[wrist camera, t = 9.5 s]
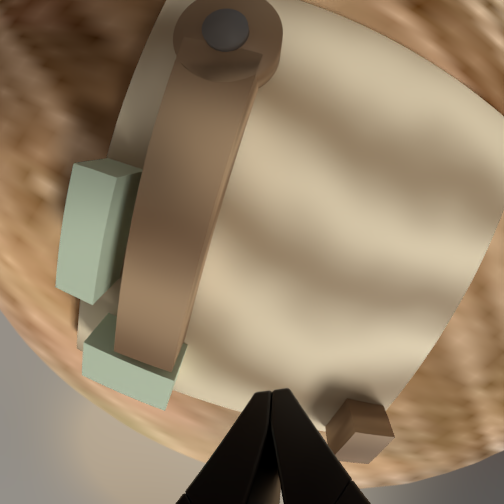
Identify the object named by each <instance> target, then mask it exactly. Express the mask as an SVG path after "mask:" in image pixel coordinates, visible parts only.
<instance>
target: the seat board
mask: <svg viewBox="0 0 504 504" xmlns="http://www.w3.org/2000/svg"><path fill="white" fill-rule="evenodd" d="M194 1H196V0H166V2H165V4H164V6H163V8H162V10H161V12H160V14H159V16H158V18H157V20H156V22H155V24H154V27H153V29H152V31H151V33H150V35H149V38H148V40H147V42H146V45H145V47H144V49H143V52H142V54H141V57H140V59H139V62H138V64H137V67H136V69H135V72H134V74H133V77H132V80H131V82H130V85H129V88H128V90H127V93H126V96H125V99H124V102H123V105H122V108H121V111H120V114H119V117H118V120H117V123H116V126H115V130H114V133H113V136H112V140H111V143H110V147H109V150H108V154H107V158H109V159H112V160H116V161H119V162H122V163H125V164H128V165H131V166H134V167H137V168H140V169H143V166H144V162H145V158H146V154H147V150H148V147H149V143H150V139H151V135H152V132H153V128H154V125H155V121H156V118H157V114H158V111H159V108H160V104H161V101H162V98H163V95H164V92H165V89H166V86H167V83H168V80H169V77H170V74H171V71H172V68H173V65H174V62H175V59H176V57H177V56H176V54H175V50H174V46H173V33H174V28H175V25H176V23H177V21H178V19H179V17H180V16H181V14H182V13H183V11H184V10H185V9H186V8H187V7H188V6H189V5H190V4H191V3H193V2H194ZM266 1H267V2H269V3H270V4H271V5H272V6H273V7H274V9H275V10H276V11H277V13H278V15H279V17H280V19H281V22H282V27H283V39H282V47H281V54H280V61H279V65H278V68H277V70H276V72H275V74H274V75H273V76H272V78H271V79H270V80H269V81H268V82H267V83H266V84H265V85H263V86H262V87H260V88H259V89H258V92H257V94H256V97H255V100H254V103H253V106H252V109H251V112H250V116H249V119H248V122H247V125H246V128H245V131H244V134H243V137H242V140H241V143H240V147H239V150H238V153H237V156H236V159H235V163H234V166H233V169H232V172H231V175H230V179H229V182H228V185H227V189H226V192H225V195H224V199H223V202H222V205H221V209H220V212H219V216H218V219H217V222H216V226H215V229H214V233H213V236H212V240H211V243H210V247H209V250H208V254H207V258H206V261H205V265H204V268H203V272H202V276H201V279H200V283H199V287H198V291H197V294H196V298H195V302H194V306H193V310H192V313H191V317H190V321H189V325H188V329H187V333H186V337H185V340H184V342H183V343H184V344H187V345H188V346H187V349H186V352H185V355H184V358H183V361H182V364H181V367H180V370H179V374H178V376H177V379H176V382H175V385H174V387H173V390H174V391H177V392H180V393H183V394H186V395H189V396H191V397H194V398H197V399H200V400H203V401H206V402H210V403H213V404H216V405H219V406H222V407H226V408H229V409H232V410H236V411H239V412H242V411H243V410H244V408H245V407H246V405H247V404H248V402H249V401H250V399H251V397H252V396H253V394H254V393H255V392H259V391H267V390H270V391H272V392H273V390H275V389H282V388H289V389H290V390H291V391H292V393H293V394H294V396H295V397H296V399H297V400H298V402H299V403H300V405H301V406H302V408H303V409H304V411H305V412H306V414H307V415H308V417H309V418H310V420H311V421H312V423H313V424H314V426H315V427H316V428H317V430H320V431H325V432H326V436H327V442H328V446H329V447H330V449H331V450H332V452H333V453H334V454H335V456H336V457H337V459H338V460H339V461H344V462H353V463H364V464H369V463H370V462H371V461H372V460H373V459H374V458H375V457H376V456H377V455H378V454H379V453H380V452H381V451H382V450H383V449H384V448H385V447H386V446H387V445H388V444H389V443H390V442H391V441H392V440H393V439H394V438H395V436H394V433H393V430H392V428H391V425H390V422H389V419H388V416H387V414H386V410H387V408H388V407H389V406H390V405H391V404H392V402H393V401H394V400H395V399H396V397H397V396H398V395H399V393H400V392H401V391H402V390H403V388H404V387H405V386H406V384H407V383H408V382H409V380H410V379H411V378H412V376H413V375H414V373H415V372H416V371H417V369H418V368H419V367H420V365H421V364H422V362H423V361H424V359H425V358H426V356H427V355H428V354H429V352H430V351H431V349H432V348H433V346H434V345H435V343H436V341H437V340H438V338H439V337H440V335H441V334H442V332H443V330H444V329H445V327H446V326H447V324H448V322H449V321H450V319H451V317H452V316H453V314H454V312H455V310H456V309H457V307H458V305H459V304H460V302H461V300H462V298H463V296H464V295H465V293H466V291H467V289H468V287H469V285H470V283H471V281H472V279H473V278H474V276H475V274H476V272H477V270H478V268H479V266H480V264H481V261H482V259H483V257H484V255H485V253H486V251H487V249H488V246H489V244H490V242H491V240H492V237H493V235H494V233H495V230H496V228H497V226H498V223H499V221H500V218H501V216H502V213H503V211H504V116H503V115H501V114H500V113H499V112H498V111H497V110H496V109H494V108H493V107H492V106H491V105H489V104H488V103H487V102H486V101H484V100H483V99H482V98H481V97H479V96H478V95H477V94H475V93H474V92H473V91H471V90H470V89H469V88H467V87H466V86H465V85H463V84H462V83H461V82H459V81H458V80H456V79H455V78H453V77H452V76H451V75H449V74H448V73H446V72H445V71H443V70H442V69H440V68H439V67H437V66H435V65H434V64H432V63H431V62H429V61H427V60H426V59H424V58H423V57H421V56H419V55H418V54H416V53H414V52H412V51H411V50H409V49H407V48H405V47H404V46H402V45H400V44H398V43H396V42H395V41H393V40H391V39H389V38H387V37H385V36H383V35H381V34H379V33H377V32H375V31H373V30H371V29H369V28H367V27H365V26H363V25H360V24H358V23H356V22H354V21H352V20H349V19H347V18H345V17H342V16H340V15H338V14H335V13H333V12H330V11H328V10H325V9H322V8H320V7H317V6H314V5H312V4H309V3H306V2H303V1H300V0H266ZM128 237H129V236H128ZM127 243H128V241H127ZM126 248H127V245H126ZM125 254H126V250H125ZM125 254H124V259H123V264H122V268H121V273H120V278H119V279H118V280H117V281H116V282H115V283H114V284H113V285H112V286H111V287H110V288H109V289H108V290H107V291H106V292H105V293H104V294H103V295H102V296H101V297H100V298H99V299H98V300H97V301H96V302H95V303H94V304H93V305H91V304H89V303H87V302H85V301H83V300H81V299H80V308H79V320H78V335H77V349H79V350H81V351H83V345H84V341H85V340H86V339H87V338H88V336H89V335H90V334H91V333H92V332H93V330H94V329H95V328H96V327H97V326H98V325H99V323H100V322H101V321H102V320H103V319H104V318H105V316H106V315H107V314H108V313H110V314H113V315H115V316H117V312H118V304H119V296H120V288H121V281H122V274H123V267H124V261H125Z"/></svg>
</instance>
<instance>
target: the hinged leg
mask: <svg viewBox="0 0 504 504" xmlns="http://www.w3.org/2000/svg"><path fill="white" fill-rule="evenodd" d="M282 39H283V27H282V22H281V19H280V17H279V15H278V13H277V11H276V10H275V9H274V7H273V6H272V5H271V4H270V3H269V2H267V1H266V0H196V1H194V2H193V3H191V4H190V5H189V6H188V7H187V8H186V9H185V10H184V11H183V13H182V14H181V16H180V17H179V19H178V21H177V23H176V25H175V28H174V33H173V46H174V50H175V54H176V56H177V57H176V59H175V62H174V65H173V68H172V71H171V74H170V77H169V80H168V83H167V86H166V89H165V92H164V95H163V98H162V101H161V104H160V108H159V111H158V114H157V118H156V121H155V125H154V128H153V132H152V135H151V139H150V143H149V147H148V150H147V154H146V158H145V162H144V166H143V170H142V174H141V179H140V183H139V187H138V192H137V197H136V201H135V206H134V211H133V216H132V221H131V226H130V231H129V237H128V243H127V248H126V254H125V261H124V267H123V274H122V281H121V288H120V296H119V304H118V312H117V322H116V332H115V343H114V351H115V352H117V353H120V354H122V355H125V356H127V357H130V358H133V359H135V360H138V361H141V362H143V363H146V364H149V365H152V366H154V367H157V368H160V369H163V370H166V371H169V372H172V370H173V367H174V365H175V362H176V360H177V357H178V355H179V352H180V350H181V347H182V345H183V342H184V340H185V337H186V333H187V329H188V325H189V321H190V317H191V313H192V310H193V306H194V302H195V298H196V294H197V291H198V287H199V283H200V279H201V276H202V272H203V268H204V265H205V261H206V258H207V254H208V250H209V247H210V243H211V240H212V236H213V233H214V229H215V226H216V222H217V219H218V216H219V212H220V209H221V205H222V202H223V199H224V195H225V192H226V189H227V185H228V182H229V179H230V175H231V172H232V169H233V166H234V163H235V159H236V156H237V153H238V150H239V147H240V143H241V140H242V137H243V134H244V131H245V128H246V125H247V122H248V119H249V116H250V112H251V109H252V106H253V103H254V100H255V97H256V94H257V92H258V89H259V88H260V87H262V86H263V85H265V84H266V83H267V82H268V81H269V80H270V79H271V78H272V76H273V75H274V74H275V72H276V70H277V68H278V65H279V61H280V54H281V47H282Z"/></svg>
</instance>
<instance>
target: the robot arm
mask: <svg viewBox="0 0 504 504" xmlns="http://www.w3.org/2000/svg"><path fill="white" fill-rule="evenodd" d="M280 490H281V491H282V497H283V502H284V504H370V502H369V501H368V499H367V498H366V497H365V496H364V494H363V493H362V492H361V491H360V489H359V488H358V486H357V485H356V484H355V482H354V481H352V479H351V477H350V476H349V474H348V473H347V471H346V470H345V469H344V467H343V466H342V464H341V463H340V462H339V460H338V459H337V457H336V456H335V454H334V453H333V452H332V450H331V449H330V447H329V446H328V444H327V443H326V442H325V440H324V439H323V437H322V436H321V434H320V433H319V431H318V430H317V428H316V427H315V426H314V424H313V423H312V421H311V420H310V418H309V417H308V415H307V414H306V412H305V411H304V409H303V408H302V406H301V405H300V403H299V402H298V400H297V399H296V397H295V396H294V394H293V393H292V391H291V390H290V389H289V388H282V389H275V390H273V392H272V391H270V390H267V391H259V392H255V393H254V394H253V396H252V397H251V399H250V401H249V402H248V404H247V405H246V407H245V408H244V410H243V411H242V413H241V414H240V416H239V417H238V419H237V420H236V421H235V423H234V424H233V426H232V427H231V429H230V430H229V432H228V433H227V435H226V436H225V438H224V439H223V440H222V442H221V443H220V445H219V446H218V447H217V449H216V450H215V452H214V453H213V455H212V456H211V457H210V459H209V460H208V461H207V463H206V464H205V466H204V467H203V468H202V470H201V471H200V472H199V474H198V475H197V476H196V478H195V479H194V480H193V482H192V483H191V484H190V486H189V487H188V488H187V490H186V491H185V492H186V494H183V495H182V496H181V497H180V499H179V500H178V501H177V502H176V504H279V503H280Z"/></svg>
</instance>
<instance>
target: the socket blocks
mask: <svg viewBox="0 0 504 504" xmlns="http://www.w3.org/2000/svg"><path fill="white" fill-rule="evenodd" d="M142 170H143V169H140V168H137V167H134V166H131V165H128V164H125V163H122V162H119V161H116V160H112V159H109V158H105V159H98V160H91V161H84V162H78V163H74V164H73V169H72V173H71V178H70V183H69V188H68V193H67V198H66V204H65V210H64V216H63V222H62V229H61V237H60V245H59V253H58V263H57V274H56V288H58V289H60V290H62V291H64V292H66V293H68V294H70V295H73V296H75V297H77V298H79V299H81V300H83V301H85V302H87V303H89V304H91V305H93V304H94V303H95V302H96V301H97V300H98V299H99V298H100V297H101V296H102V295H103V294H104V293H105V292H106V291H107V290H108V289H109V288H110V287H111V286H112V285H113V284H114V283H115V282H116V281H117V280H118V279H119V278H120V273H121V268H122V264H123V259H124V254H125V250H126V245H127V241H128V236H129V231H130V226H131V221H132V216H133V211H134V206H135V201H136V197H137V192H138V187H139V183H140V179H141V174H142ZM116 322H117V316H115V315H113V314H110V313H108V314H107V315H106V316H105V318H104V319H103V320H102V321H101V322H100V323H99V325H98V326H97V327H96V328H95V329H94V330H93V332H92V333H91V334H90V335H89V336H88V338H87V339H86V340H85V341H84V345H83V362H82V375H83V376H85V377H87V378H89V379H91V380H93V381H95V382H98V383H100V384H102V385H104V386H106V387H108V388H111V389H113V390H115V391H117V392H120V393H122V394H124V395H127V396H129V397H131V398H134V399H136V400H139V401H141V402H144V403H146V404H149V405H151V406H154V407H156V408H159V409H162V410H164V411H165V409H166V407H167V404H168V401H169V398H170V395H171V393H172V390H173V387H174V385H175V382H176V379H177V376H178V374H179V370H180V367H181V364H182V361H183V358H184V355H185V352H186V349H187V346H188V345H187V344H184V343H183V345H182V347H181V350H180V352H179V355H178V357H177V360H176V362H175V365H174V367H173V370H172V372H169V371H166V370H163V369H160V368H157V367H154V366H152V365H149V364H146V363H143V362H141V361H138V360H135V359H133V358H130V357H127V356H125V355H122V354H120V353H117V352H115V351H114V343H115V332H116Z"/></svg>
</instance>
